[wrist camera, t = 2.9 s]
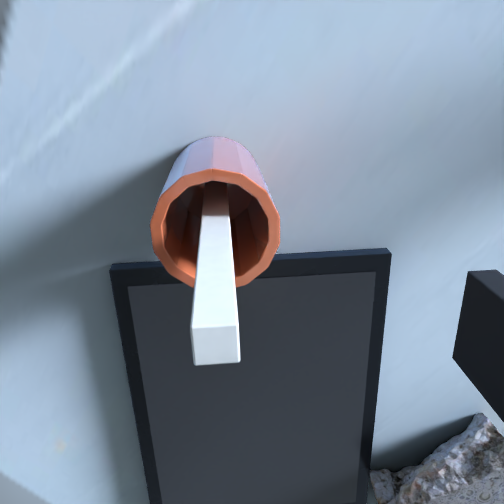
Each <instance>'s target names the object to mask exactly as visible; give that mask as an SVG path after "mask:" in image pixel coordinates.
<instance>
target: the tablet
mask: <svg viewBox="0 0 504 504" xmlns="http://www.w3.org/2000/svg"><path fill="white" fill-rule="evenodd" d="M391 256H392V253H391V252H390V251H389V250H388V249H387V248H377V249H360V250H343V251H326V252H308V253H291V254H275V255H274V257H273V259H272V261H271V263H270V265H269V267H268V268H267V269H266V270H265V271H263V272H262V273H261V274H260V275H258V276H257V277H256V278H254V279H253V280H252V281H251V282H249V283H248V284H246V285H244V286H240V287H236V288H235V289H236V301H237V312H238V324H239V344H240V362H238V363H227V364H213V365H199V366H196V365H194V362H193V352H192V342H191V332H190V323H191V314H192V304H193V294H194V288H193V287H190V286H188V285H187V284H185V283H183V282H182V281H180V280H178V279H177V278H175V277H173V276H172V275H170V274H169V273H168V272H167V270H166V269H165V267H164V266H163V265H162V263H161V262H160V261H154V262H136V263H119V264H112V266H111V268H110V270H109V273H110V278H111V284H112V290H113V295H114V301H115V307H116V312H117V318H118V324H119V329H120V335H121V341H122V346H123V352H124V358H125V364H126V369H127V375H128V381H129V386H130V392H131V398H132V403H133V409H134V415H135V420H136V426H137V432H138V437H139V443H140V449H141V454H142V460H143V466H144V471H145V477H146V483H147V488H148V494H149V500H150V504H366V501H367V491H368V481H369V472H370V462H371V452H372V442H373V432H374V423H375V413H376V403H377V393H378V383H379V374H380V364H381V354H382V344H383V334H384V325H385V315H386V305H387V295H388V285H389V276H390V266H391Z"/></svg>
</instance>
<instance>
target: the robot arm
mask: <svg viewBox="0 0 504 504" xmlns="http://www.w3.org/2000/svg"><path fill="white" fill-rule="evenodd" d="M452 358H453V359H454V360H455V362H456V363H457V364H458V366H459V367H460V368H461V369H462V371H463V372H464V373H465V374H466V376H467V377H468V378H469V379H470V381H471V382H472V383H473V384H474V386H475V387H476V388H477V389H478V391H479V392H480V393H481V394H482V396H483V397H484V398H485V400H486V401H487V402H488V403H489V405H490V406H491V407H492V408H493V410H494V411H495V412H496V413H497V415H498V416H499V417H500V418H501V420H502V421H503V422H504V275H503V274H501V273H500V272H499V271H497V270H483V271H468V274H467V279H466V285H465V290H464V296H463V301H462V307H461V312H460V318H459V324H458V329H457V335H456V340H455V346H454V351H453V357H452Z"/></svg>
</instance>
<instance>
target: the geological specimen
mask: <svg viewBox="0 0 504 504" xmlns="http://www.w3.org/2000/svg"><path fill="white" fill-rule="evenodd" d="M369 476H370V481H371V484H372V487H373V489H374V494H375V498H376V500H377V502H378V504H504V437H503V436H502V435H501V434H500V433H499V431H498V430H497V428H496V427H495V426H494V425H493V424H492V423H491V422H490V420H489V419H488V418H487V417H486V416H485V415H484V414H483V413H478V414H476V415H475V416H474V418H473V420H472V422H471V423H470V424H469V426H468V427H467V429H466V430H465V431H464V432H463V433H461V434H460V435H456V436H453V437H452V438H451V439H450V440H448V441H447V442H446V443H443V444H441V445H440V446H439V447H438V448H437V449H436V450H435V451H434V452H433V454H430V455H429V456H428V457H426V458H425V459H424V460H423V461H422V462H421V464H420V465H418V466H412V465H411V466H408V467H404V468H403V469H402V470H400V471H399V472H396V473H392V472H390V471H389V470H388V469H381V470H380V471H374V470H370V472H369Z"/></svg>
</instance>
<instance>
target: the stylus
mask: <svg viewBox="0 0 504 504" xmlns="http://www.w3.org/2000/svg"><path fill="white" fill-rule="evenodd" d="M190 332H191V342H192V352H193V362H194V365H196V366H199V365H213V364H227V363H238V362H240V344H239V324H238V312H237V301H236V289H235V277H234V265H233V253H232V241H231V229H230V217H229V205H228V193H227V183H224V182H218V181H209V182H206V183H205V187H204V197H203V206H202V216H201V226H200V236H199V245H198V255H197V265H196V275H195V284H194V294H193V304H192V314H191V323H190Z"/></svg>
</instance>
